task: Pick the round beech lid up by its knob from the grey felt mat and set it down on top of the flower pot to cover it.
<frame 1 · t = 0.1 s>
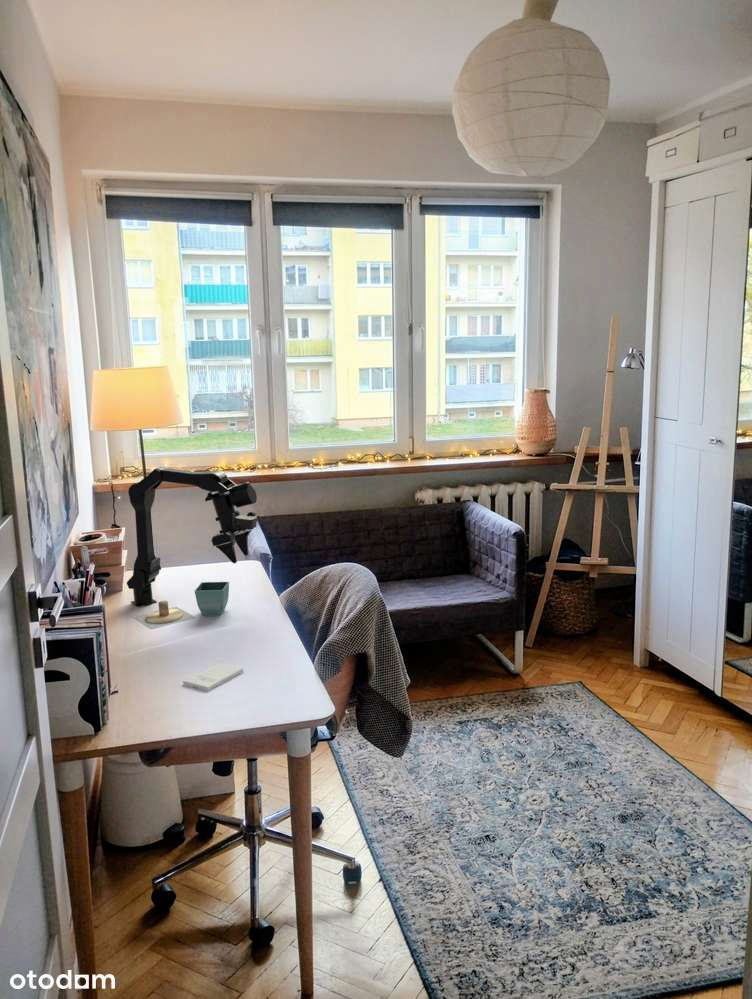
hand: (240, 559, 240), 15 cm above the table, tool pointing down, fingers open, 9 cm apart
mat: (164, 618, 235), on the table
external hard drive: (213, 680, 190), on the table
flower pot: (214, 614, 237), on the table
lid: (164, 617, 235), resting on mat
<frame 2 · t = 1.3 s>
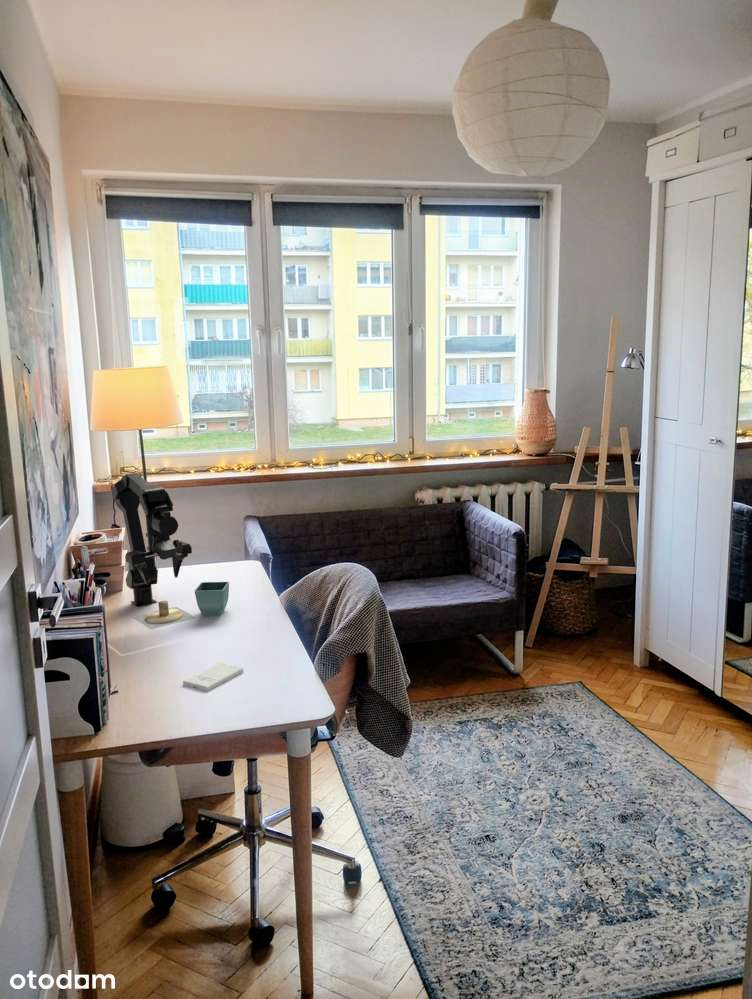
hand: (161, 580, 233), 12 cm above the table, tool pointing down, fingers open, 9 cm apart
nothing on the table moved.
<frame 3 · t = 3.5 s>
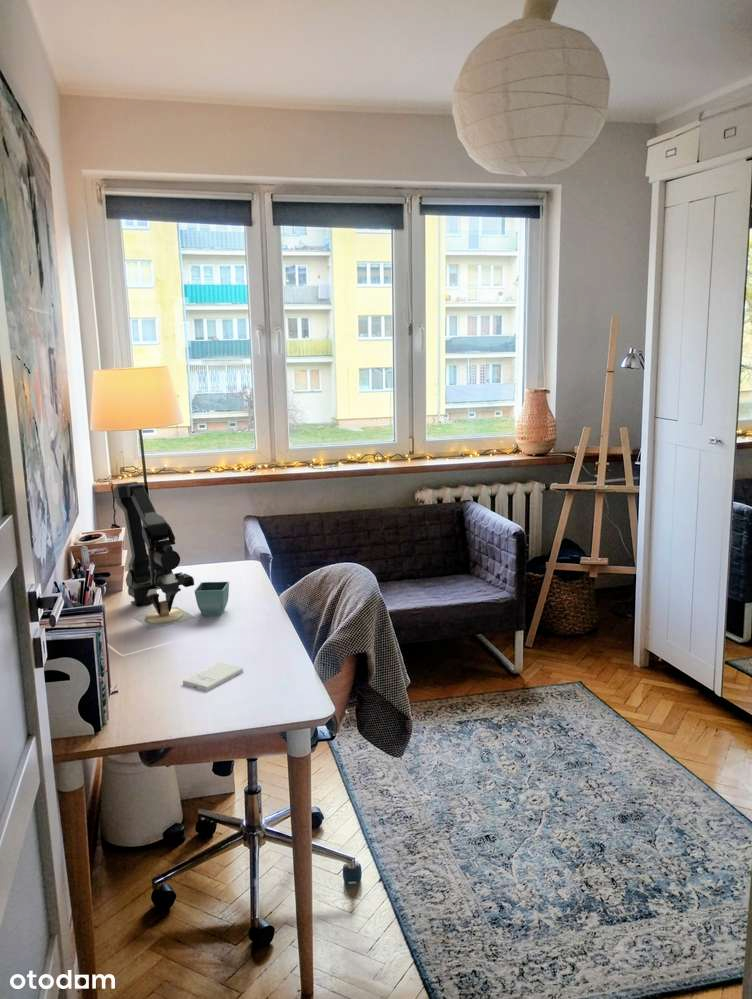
hand: (164, 612, 235), 2 cm above the table, tool pointing down, fingers closed on lid, 3 cm apart
lid: (164, 617, 235), resting on mat, touching gripper
everything else where it was.
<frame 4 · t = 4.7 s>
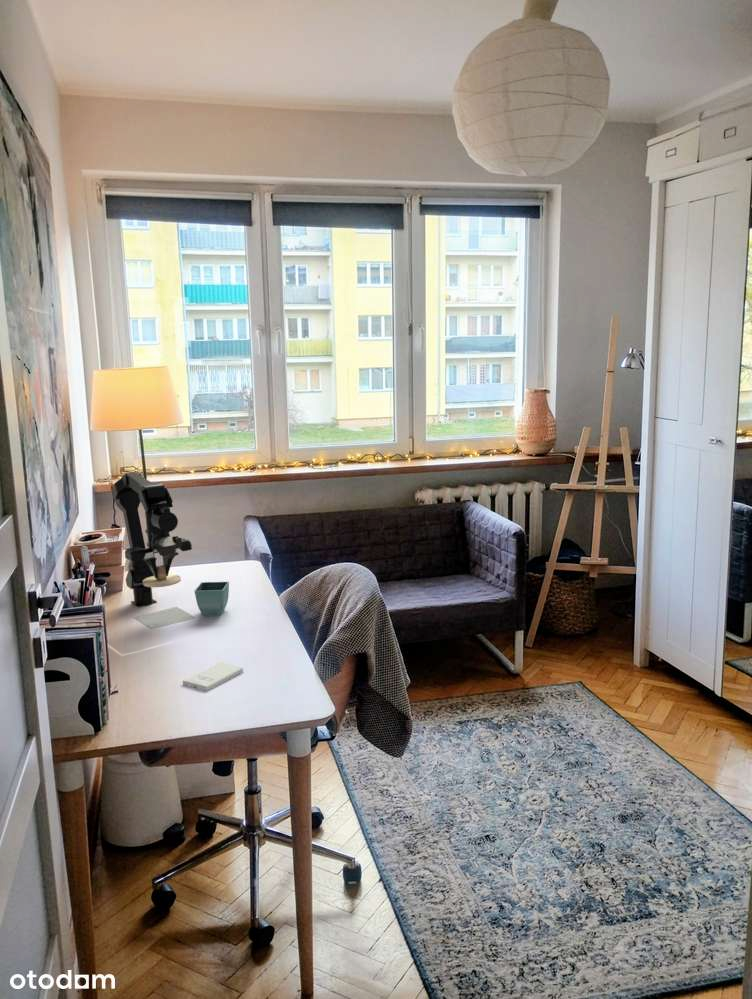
hand: (161, 577, 232), 13 cm above the table, tool pointing down, fingers closed on lid, 3 cm apart
lid: (161, 581, 233), point 12 cm above the table, touching gripper
everything else where it was.
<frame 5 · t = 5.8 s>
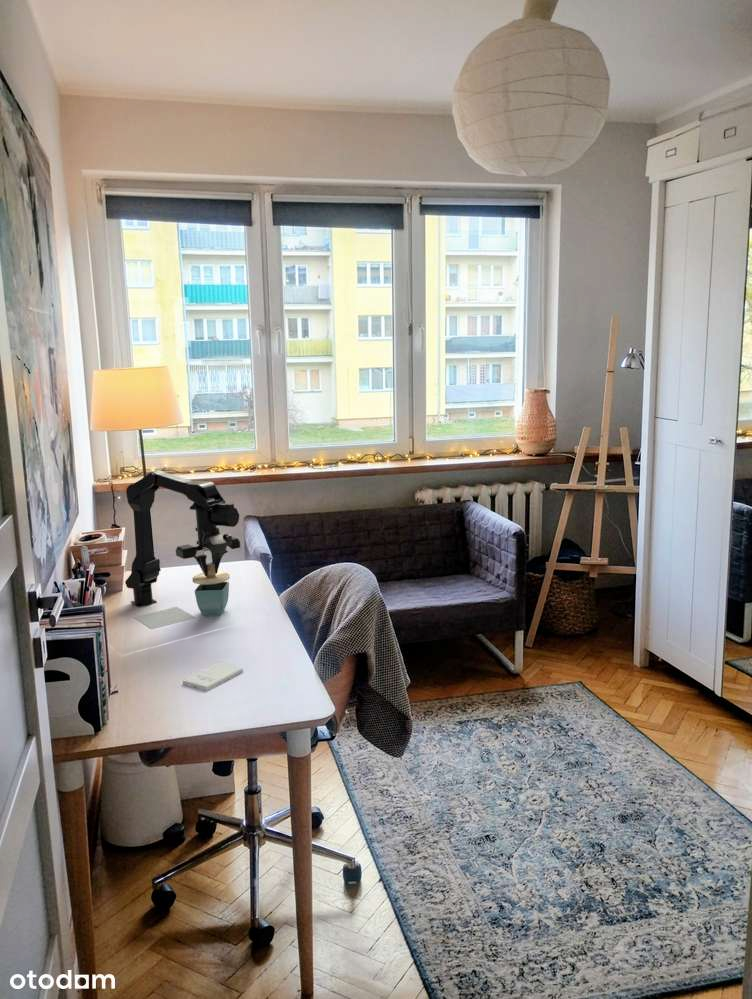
hand: (210, 574, 235), 12 cm above the table, tool pointing down, fingers closed on lid, 3 cm apart
lid: (211, 579, 235), point 11 cm above the table, touching gripper
everything else where it was.
when the fingers open (12 cm above the table, at t = 6.5 s): lid drops 1 cm, resting on flower pot.
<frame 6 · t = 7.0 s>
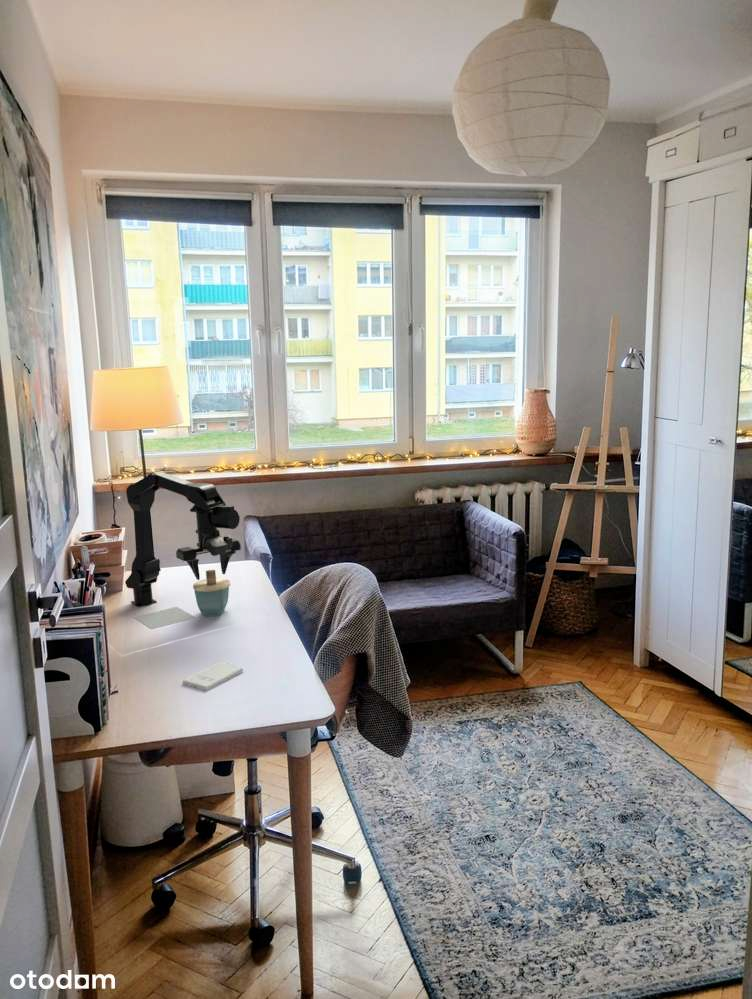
hand: (211, 576, 235), 12 cm above the table, tool pointing down, fingers open, 8 cm apart
flower pot: (214, 614, 237), on the table, touching lid
lid: (211, 586, 235), point 9 cm above the table, touching flower pot
everything else where it was.
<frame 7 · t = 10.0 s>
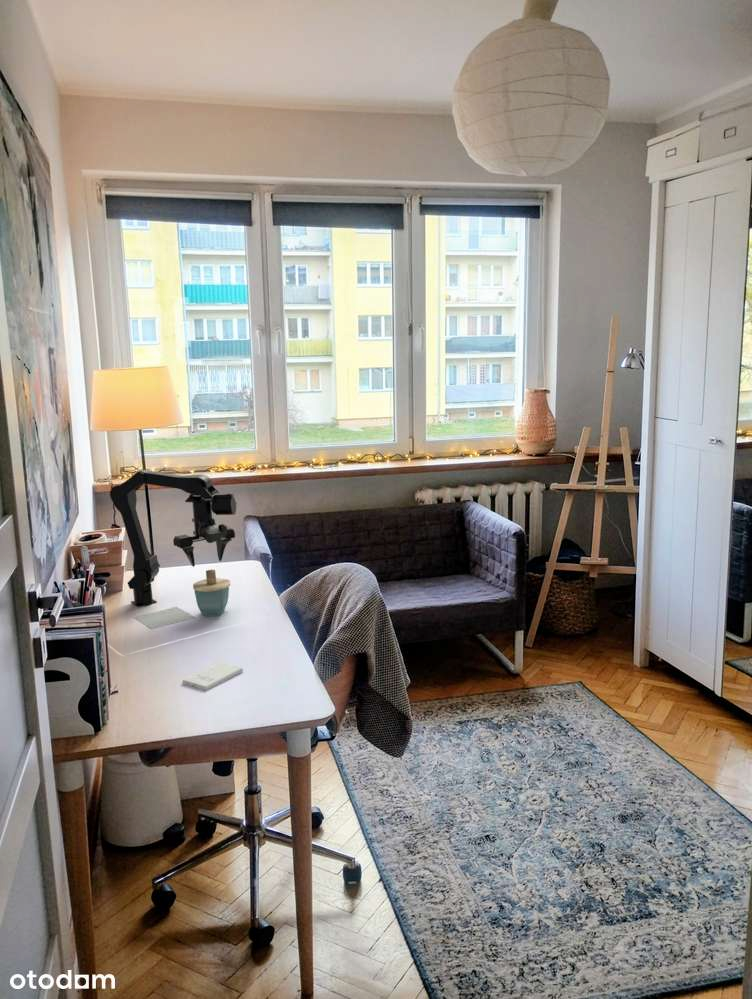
hand: (206, 563, 246), 13 cm above the table, tool pointing down, fingers open, 9 cm apart
nothing on the table moved.
at the end: lid 0.0 cm from the flower pot (horizontally); lid point 8.9 cm above the table; the gripper is holding nothing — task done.
